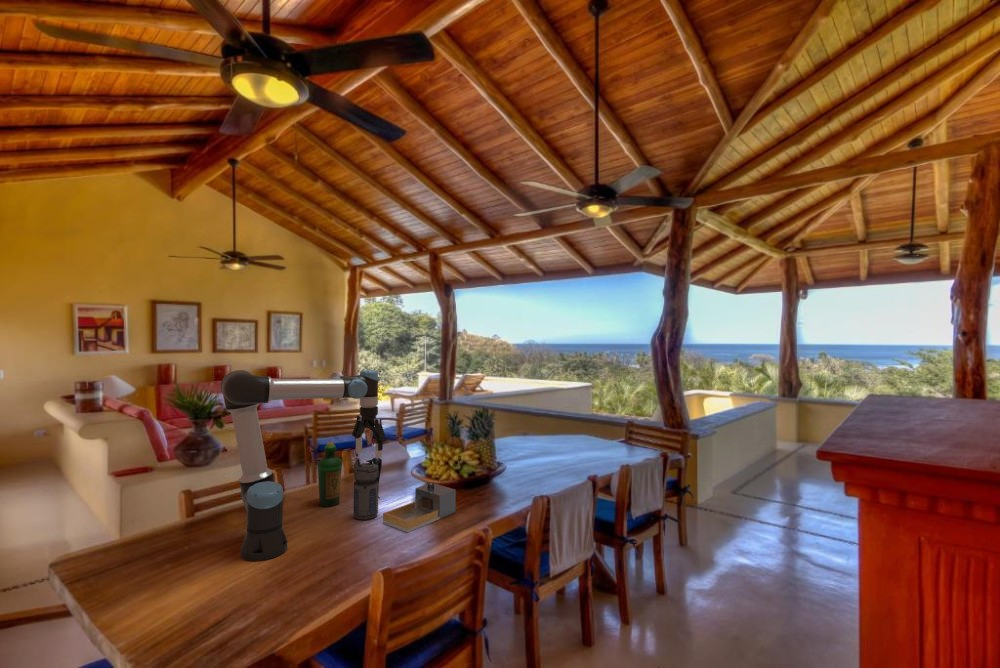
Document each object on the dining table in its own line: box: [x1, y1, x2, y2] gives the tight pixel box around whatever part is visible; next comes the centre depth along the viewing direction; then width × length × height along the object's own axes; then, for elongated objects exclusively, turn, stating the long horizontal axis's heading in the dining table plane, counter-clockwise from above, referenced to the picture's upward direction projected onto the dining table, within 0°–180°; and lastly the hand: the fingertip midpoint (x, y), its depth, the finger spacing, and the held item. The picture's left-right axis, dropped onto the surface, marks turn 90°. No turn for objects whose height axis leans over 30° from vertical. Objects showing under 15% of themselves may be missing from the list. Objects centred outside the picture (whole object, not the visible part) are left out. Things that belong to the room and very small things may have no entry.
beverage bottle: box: [352, 456, 383, 521], centre depth 206 cm, size 10×13×25 cm
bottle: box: [317, 441, 343, 507], centre depth 220 cm, size 11×11×28 cm
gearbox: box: [382, 481, 457, 533], centre depth 205 cm, size 28×15×12 cm, turn 143°
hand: (368, 455), depth 207 cm, fingers open, 13 cm apart
